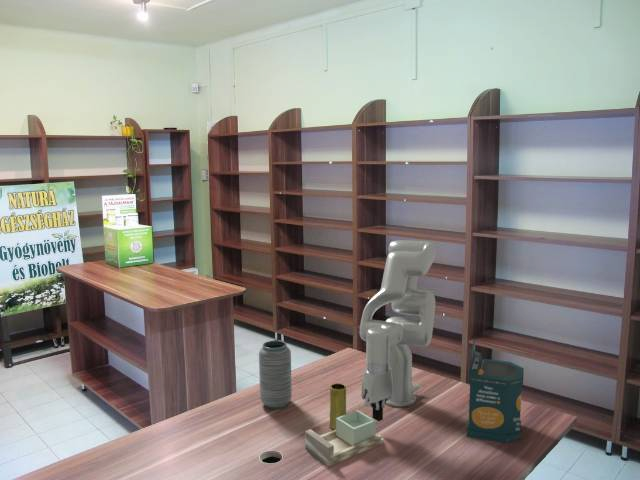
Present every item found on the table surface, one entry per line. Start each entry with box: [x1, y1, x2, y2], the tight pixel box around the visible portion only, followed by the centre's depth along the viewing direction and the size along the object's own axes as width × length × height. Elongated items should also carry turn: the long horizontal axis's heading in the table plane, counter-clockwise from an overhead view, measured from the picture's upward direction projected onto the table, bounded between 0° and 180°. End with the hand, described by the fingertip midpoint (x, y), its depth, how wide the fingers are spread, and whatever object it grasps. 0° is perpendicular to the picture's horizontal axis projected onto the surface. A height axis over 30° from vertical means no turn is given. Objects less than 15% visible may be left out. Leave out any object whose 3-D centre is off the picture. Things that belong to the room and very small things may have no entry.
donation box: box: [466, 338, 525, 444], centre depth 177 cm, size 16×16×28 cm
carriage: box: [336, 409, 377, 446], centre depth 172 cm, size 9×9×6 cm
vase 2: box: [328, 382, 347, 431], centre depth 181 cm, size 6×6×14 cm
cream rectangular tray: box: [304, 428, 385, 467], centre depth 170 cm, size 22×12×6 cm, turn 126°
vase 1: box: [258, 340, 293, 410], centre depth 197 cm, size 12×12×23 cm
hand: (377, 418), depth 177 cm, fingers closed
